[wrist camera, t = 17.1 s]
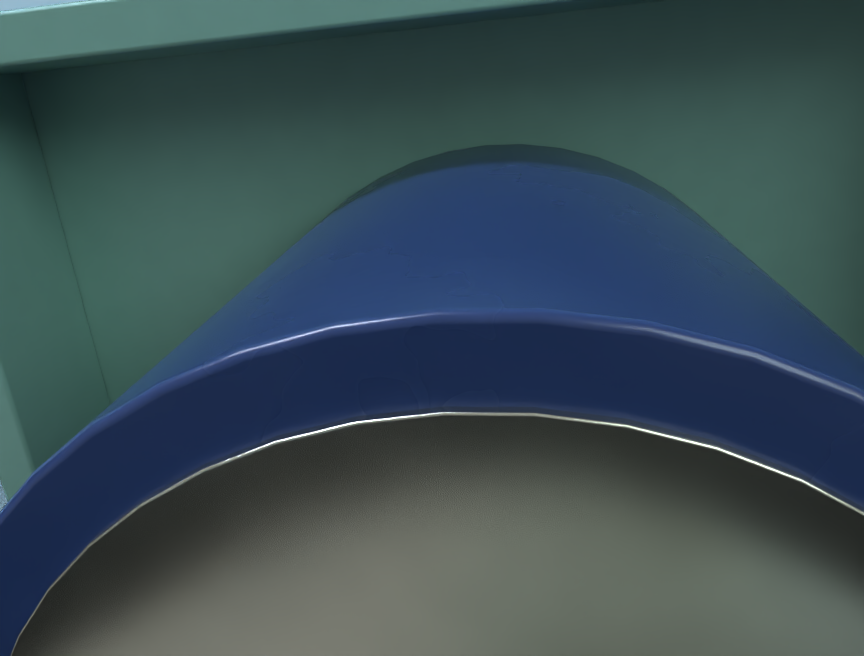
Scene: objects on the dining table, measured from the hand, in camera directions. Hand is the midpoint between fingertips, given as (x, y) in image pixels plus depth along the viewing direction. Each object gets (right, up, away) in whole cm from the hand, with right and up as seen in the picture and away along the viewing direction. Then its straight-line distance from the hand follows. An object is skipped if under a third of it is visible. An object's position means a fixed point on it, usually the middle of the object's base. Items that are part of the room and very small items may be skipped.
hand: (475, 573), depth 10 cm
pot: (+1, -5, +3) cm, 6 cm away
